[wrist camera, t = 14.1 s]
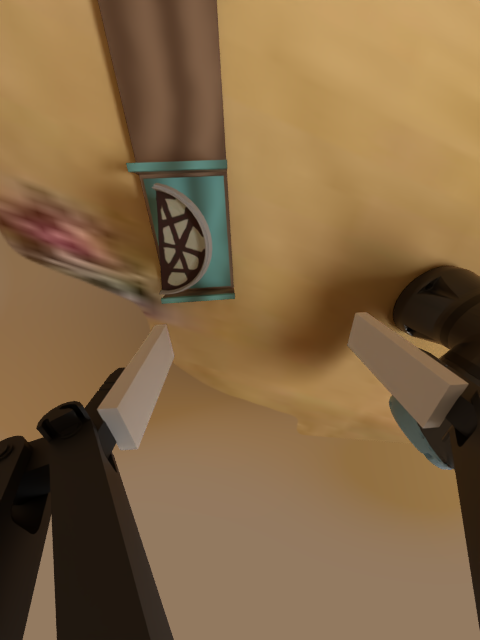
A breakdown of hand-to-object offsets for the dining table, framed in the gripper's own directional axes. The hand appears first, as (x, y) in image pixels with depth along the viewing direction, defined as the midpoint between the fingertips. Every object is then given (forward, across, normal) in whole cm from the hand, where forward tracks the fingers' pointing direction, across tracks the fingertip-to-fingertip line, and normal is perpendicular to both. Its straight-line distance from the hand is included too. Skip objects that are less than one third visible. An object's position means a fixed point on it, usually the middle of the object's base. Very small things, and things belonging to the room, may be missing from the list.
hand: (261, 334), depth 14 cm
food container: (+22, +8, -5) cm, 24 cm away
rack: (+23, +8, -13) cm, 28 cm away
